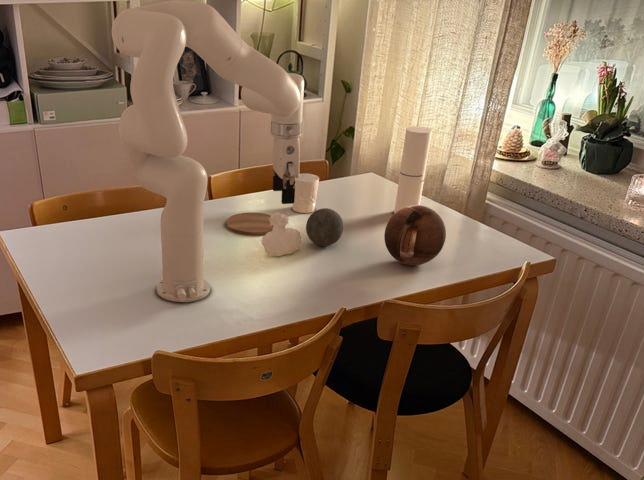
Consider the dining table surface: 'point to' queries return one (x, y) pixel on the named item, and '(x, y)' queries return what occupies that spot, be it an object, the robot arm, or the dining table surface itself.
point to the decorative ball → (324, 227)
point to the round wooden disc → (249, 223)
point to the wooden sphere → (415, 235)
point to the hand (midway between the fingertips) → (283, 196)
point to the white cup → (305, 193)
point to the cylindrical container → (413, 167)
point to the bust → (280, 237)
